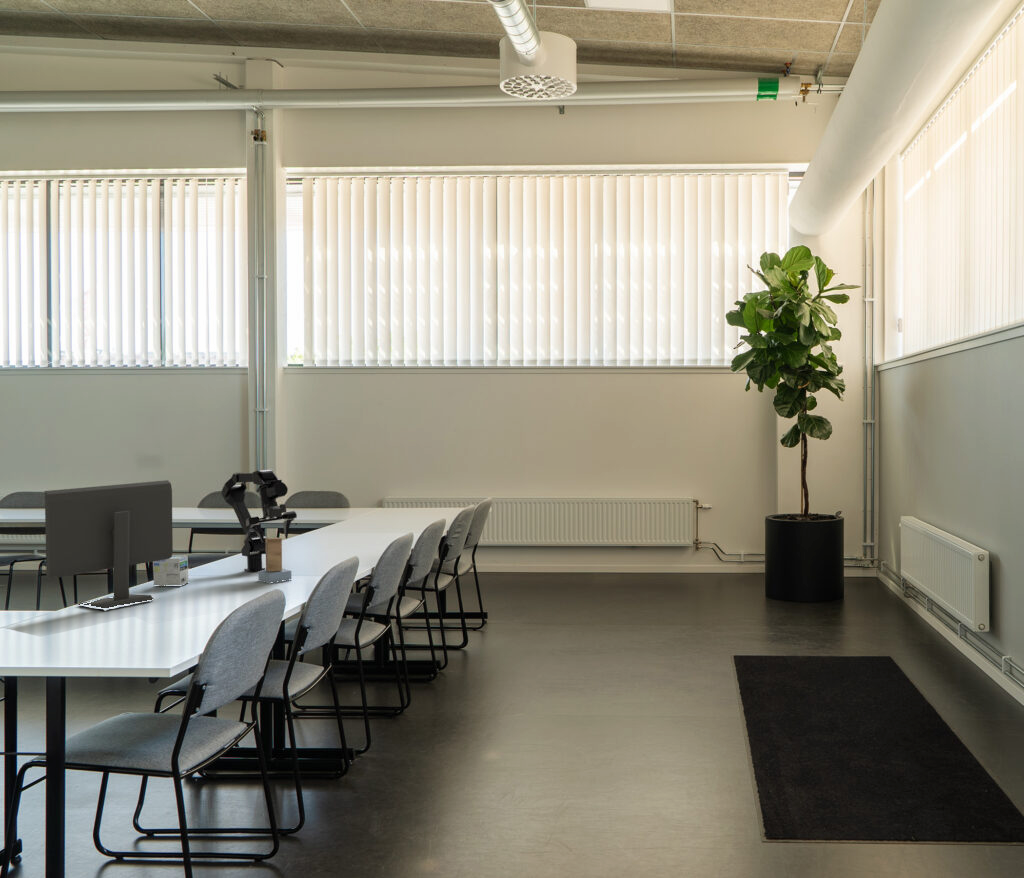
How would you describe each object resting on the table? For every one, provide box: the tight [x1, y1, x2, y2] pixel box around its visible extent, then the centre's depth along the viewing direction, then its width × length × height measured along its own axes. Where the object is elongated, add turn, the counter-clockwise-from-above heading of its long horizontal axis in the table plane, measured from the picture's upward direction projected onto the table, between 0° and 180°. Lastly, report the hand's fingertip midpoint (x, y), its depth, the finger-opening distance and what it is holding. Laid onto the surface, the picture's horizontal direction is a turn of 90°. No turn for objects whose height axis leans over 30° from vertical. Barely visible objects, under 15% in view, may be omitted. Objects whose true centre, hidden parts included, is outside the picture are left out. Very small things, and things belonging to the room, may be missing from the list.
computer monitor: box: [44, 479, 174, 608], centre depth 302 cm, size 44×16×40 cm, turn 145°
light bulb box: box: [152, 555, 190, 586], centre depth 334 cm, size 11×7×11 cm, turn 84°
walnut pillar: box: [265, 537, 283, 572], centre depth 339 cm, size 5×5×12 cm
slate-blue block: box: [257, 567, 292, 584], centre depth 339 cm, size 9×9×4 cm
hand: (274, 540), depth 352 cm, fingers open, 9 cm apart
